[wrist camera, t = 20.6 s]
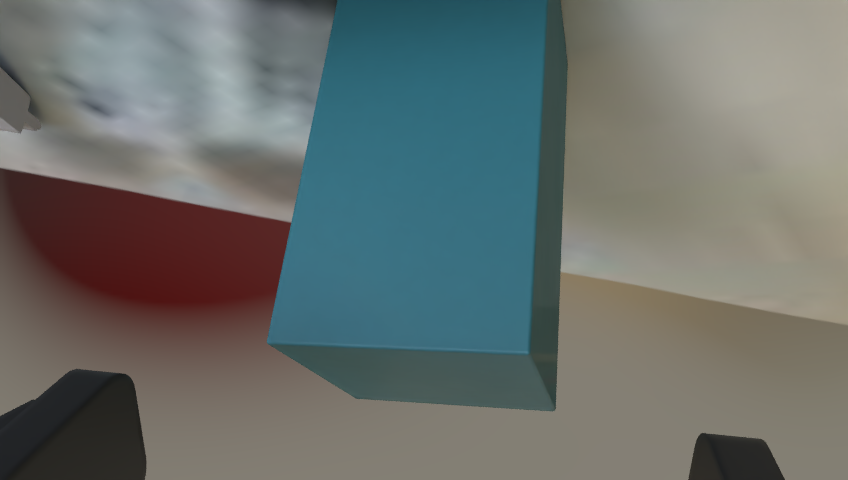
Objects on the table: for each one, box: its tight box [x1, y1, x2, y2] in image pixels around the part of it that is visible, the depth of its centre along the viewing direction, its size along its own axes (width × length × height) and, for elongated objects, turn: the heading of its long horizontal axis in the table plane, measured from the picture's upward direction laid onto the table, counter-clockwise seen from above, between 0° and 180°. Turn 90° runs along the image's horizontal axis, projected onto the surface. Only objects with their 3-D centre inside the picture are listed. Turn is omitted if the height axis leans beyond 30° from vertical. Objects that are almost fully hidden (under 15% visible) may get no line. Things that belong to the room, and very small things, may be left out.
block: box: [267, 0, 568, 411], centre depth 17 cm, size 5×5×10 cm
